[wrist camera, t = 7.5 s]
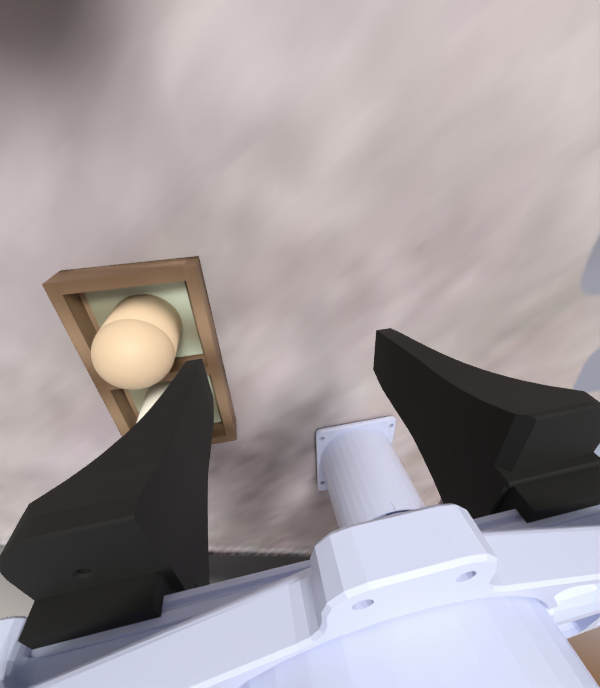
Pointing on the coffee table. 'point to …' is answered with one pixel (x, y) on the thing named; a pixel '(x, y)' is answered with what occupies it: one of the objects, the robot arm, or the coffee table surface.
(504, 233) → the coffee table surface
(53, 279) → the egg crate
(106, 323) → the brown egg
